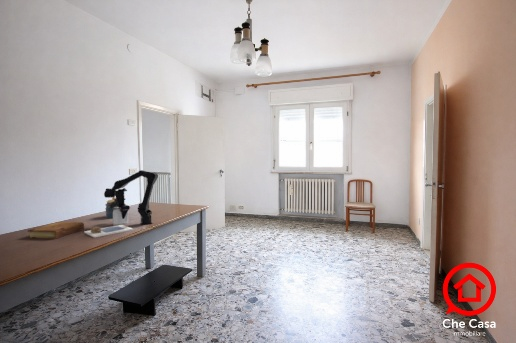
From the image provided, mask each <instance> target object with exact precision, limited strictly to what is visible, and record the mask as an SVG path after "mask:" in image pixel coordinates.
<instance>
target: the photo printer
mask: <svg viewBox="0 0 516 343" xmlns="http://www.w3.org/2000/svg"><path fill="white" fill-rule="evenodd" d="M124 224H129V211H128V212H127V214H126V216H125V218H124V219H122V214H121V212H120V211H119V208H117V209H114V210H113V218H112V225H113V226H117V225H124Z"/></svg>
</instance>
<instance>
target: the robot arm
mask: <svg viewBox="0 0 516 343" xmlns="http://www.w3.org/2000/svg"><path fill="white" fill-rule="evenodd" d="M140 177H141V178H142V177H144V178H146V183H147V184H146V188H145V191H144V195H143V199H142V202H141V203H138V207H137V212H138V214H139V215H140V224H141V225H144V226H146V225H151V224H153V222H152V214H153V211H152V210H151V209H150V199H151V197H152V192H153V189H154V185H155V183H156V182H157V180H158V177H159V175H158V173H157V172H151V171H145V170H138V171H137V172H135V173H134V174H132V175H129V176H128V177H126V178H123V179H120V180H117V181H115V182H114V184H113V186H112V188H105V191H104V193H103V195H104V198H108V199H109V198H111V199H112V198H113V197H115V198H116V199H114V201H113V202H111V203H109V204H107V203H106V204H107V205H108V207H109V208H110V209H117V208H119V211H120V212H121V214H122V219H124V218H125V216H126V214H127V212H128V213H129V210H131V207H130V205H128V204H126V203H125V200H126V198H125V192H128V189H126V188H125V187H126V186H127V185H128V184H130V183H131V182H134V181H135V180H137V179H139V178H140Z"/></svg>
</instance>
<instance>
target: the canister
mask: <svg viewBox="0 0 516 343" xmlns="http://www.w3.org/2000/svg"><path fill="white" fill-rule="evenodd" d="M114 199H116V196H115V197H112V198H111V199H108V200H107V201H106V203H105V208H104V209H105V218H106V219H113V210H114V209H110V208H109V207H108V205H107V204H109V203H111V202H113V201H114Z"/></svg>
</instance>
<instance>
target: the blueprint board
mask: <svg viewBox="0 0 516 343" xmlns="http://www.w3.org/2000/svg"><path fill="white" fill-rule="evenodd" d="M130 231H134V228H133V227H129V226H127V225H124V224H119V225H113V226H107V227H99V226H92V227H90V230H86V231H85V230H84V232H83V233H84V234H85V235H87V236H89V237H92V238H99V237H103V236H109V235H113V234H114V235H115V234H120V233H124V232H130Z"/></svg>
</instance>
